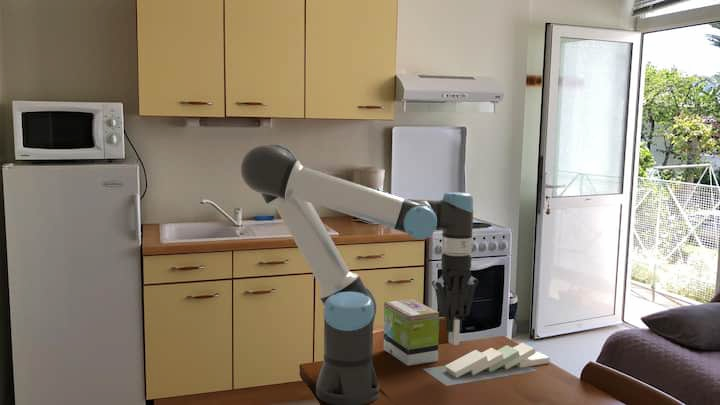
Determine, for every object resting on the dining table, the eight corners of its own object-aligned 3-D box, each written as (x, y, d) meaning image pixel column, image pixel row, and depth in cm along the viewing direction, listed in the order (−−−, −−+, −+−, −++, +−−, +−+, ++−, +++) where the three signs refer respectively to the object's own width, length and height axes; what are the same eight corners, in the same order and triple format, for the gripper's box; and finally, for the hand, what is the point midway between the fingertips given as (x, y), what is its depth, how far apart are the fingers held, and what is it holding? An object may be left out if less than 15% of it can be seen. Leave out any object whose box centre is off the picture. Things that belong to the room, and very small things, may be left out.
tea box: (382, 350, 174) (383, 301, 173) (412, 346, 178) (413, 297, 177) (407, 368, 160) (408, 314, 159) (439, 363, 165) (440, 310, 163)
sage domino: (488, 367, 156) (518, 350, 160) (477, 360, 161) (507, 345, 164) (490, 372, 157) (519, 356, 160) (479, 365, 161) (508, 350, 165)
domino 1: (455, 372, 152) (486, 355, 156) (444, 365, 157) (475, 349, 160) (456, 377, 153) (488, 361, 156) (446, 371, 157) (477, 354, 161)
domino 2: (471, 369, 154) (502, 353, 158) (461, 363, 159) (491, 347, 162) (473, 375, 155) (503, 358, 158) (462, 368, 159) (492, 352, 163)
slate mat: (446, 388, 148) (446, 385, 148) (422, 371, 159) (422, 368, 158) (537, 373, 159) (537, 370, 159) (509, 357, 170) (509, 355, 170)
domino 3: (505, 364, 158) (534, 348, 162) (493, 358, 163) (522, 342, 167) (506, 369, 159) (535, 353, 162) (495, 363, 163) (523, 347, 167)
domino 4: (520, 361, 160) (549, 357, 164) (508, 355, 165) (537, 351, 169) (519, 367, 161) (549, 362, 165) (508, 361, 165) (537, 356, 169)
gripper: (442, 257, 146) (439, 350, 148) (486, 254, 151) (483, 344, 154) (426, 252, 153) (424, 341, 155) (469, 249, 158) (466, 336, 160)
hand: (453, 343), depth 154 cm, fingers closed
